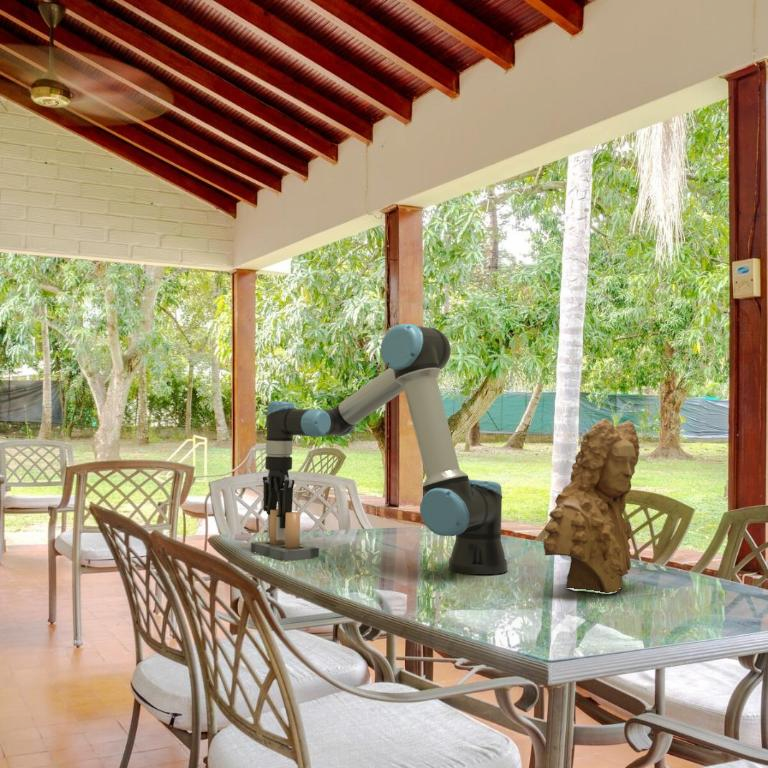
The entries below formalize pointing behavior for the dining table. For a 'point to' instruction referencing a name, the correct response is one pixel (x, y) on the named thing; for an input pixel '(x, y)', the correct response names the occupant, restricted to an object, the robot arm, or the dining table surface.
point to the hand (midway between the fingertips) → (276, 538)
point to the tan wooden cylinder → (292, 530)
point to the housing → (284, 551)
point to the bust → (596, 509)
